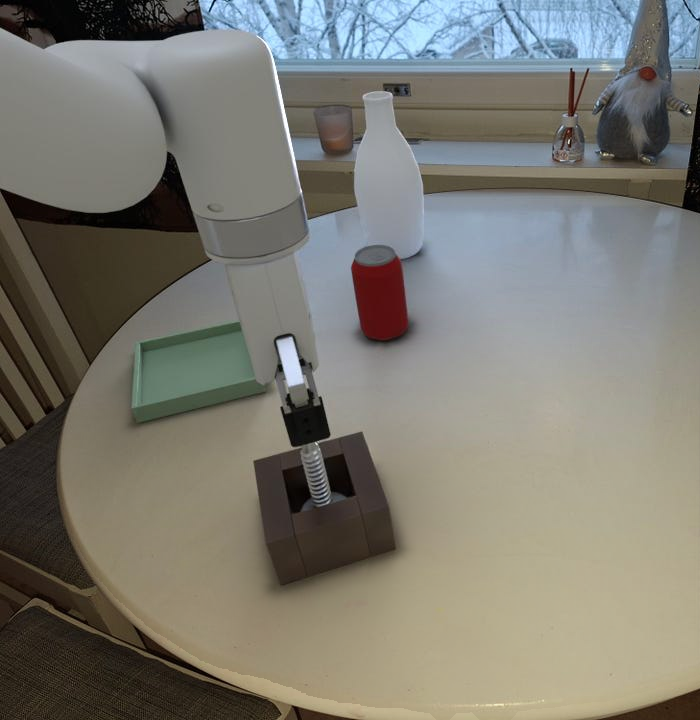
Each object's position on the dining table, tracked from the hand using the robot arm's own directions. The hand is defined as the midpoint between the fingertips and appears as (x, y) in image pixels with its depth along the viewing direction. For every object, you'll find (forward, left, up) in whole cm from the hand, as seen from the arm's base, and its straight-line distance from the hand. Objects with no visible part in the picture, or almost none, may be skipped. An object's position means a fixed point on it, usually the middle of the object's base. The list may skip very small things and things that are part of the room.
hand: (301, 405), depth 59 cm
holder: (0, 0, -15) cm, 15 cm away
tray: (-11, +32, -16) cm, 37 cm away
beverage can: (+14, +32, -16) cm, 38 cm away
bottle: (+22, +56, -16) cm, 62 cm away
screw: (0, 0, -16) cm, 16 cm away
